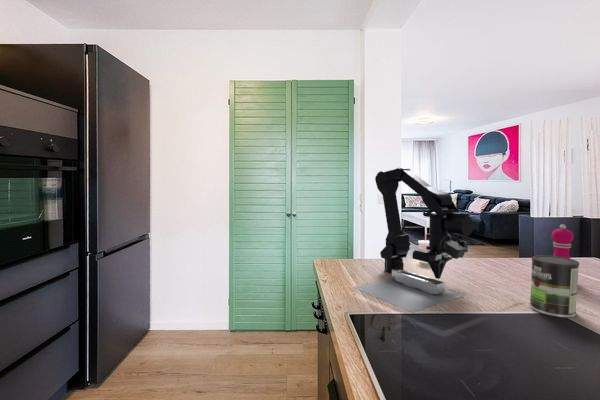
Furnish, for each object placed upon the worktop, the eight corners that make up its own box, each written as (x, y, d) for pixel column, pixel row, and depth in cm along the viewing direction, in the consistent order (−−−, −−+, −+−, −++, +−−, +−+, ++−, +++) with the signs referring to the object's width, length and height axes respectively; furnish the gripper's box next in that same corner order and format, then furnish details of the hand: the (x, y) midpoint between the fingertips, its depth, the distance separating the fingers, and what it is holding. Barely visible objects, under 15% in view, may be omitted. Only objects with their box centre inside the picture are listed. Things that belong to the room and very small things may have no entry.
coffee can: (550, 318, 86) (553, 264, 85) (520, 303, 96) (522, 255, 95) (587, 317, 86) (590, 263, 86) (554, 302, 97) (556, 254, 96)
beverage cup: (432, 260, 146) (433, 229, 145) (433, 264, 140) (433, 231, 139) (417, 259, 148) (418, 228, 147) (417, 263, 142) (418, 230, 141)
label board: (352, 290, 108) (352, 286, 108) (401, 278, 120) (401, 275, 120) (412, 315, 88) (412, 311, 88) (463, 298, 100) (463, 295, 100)
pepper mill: (578, 284, 112) (581, 226, 111) (554, 283, 114) (556, 225, 112) (566, 278, 119) (568, 223, 118) (543, 277, 121) (545, 222, 119)
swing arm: (389, 278, 115) (389, 269, 115) (397, 276, 117) (397, 267, 117) (436, 294, 99) (436, 283, 99) (444, 292, 101) (444, 281, 101)
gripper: (442, 238, 96) (441, 290, 97) (479, 232, 106) (478, 280, 107) (411, 232, 106) (411, 280, 107) (447, 227, 116) (446, 271, 117)
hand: (437, 278), depth 109 cm, fingers closed
